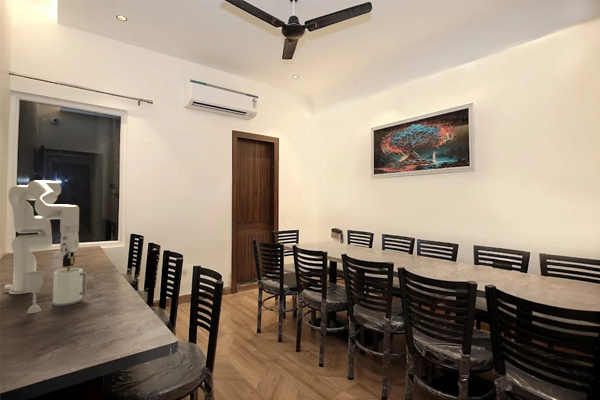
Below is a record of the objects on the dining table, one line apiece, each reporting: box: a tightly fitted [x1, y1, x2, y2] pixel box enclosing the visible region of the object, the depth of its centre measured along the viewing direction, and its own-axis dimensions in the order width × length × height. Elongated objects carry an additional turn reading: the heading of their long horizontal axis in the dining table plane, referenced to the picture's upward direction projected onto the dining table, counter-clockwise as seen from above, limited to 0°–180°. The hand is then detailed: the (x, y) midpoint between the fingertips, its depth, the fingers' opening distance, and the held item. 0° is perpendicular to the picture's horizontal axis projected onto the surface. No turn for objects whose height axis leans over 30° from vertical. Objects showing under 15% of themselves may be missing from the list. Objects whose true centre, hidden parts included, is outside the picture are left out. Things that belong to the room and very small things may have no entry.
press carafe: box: [52, 267, 88, 307], centre depth 152 cm, size 14×12×16 cm
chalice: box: [25, 270, 46, 314], centre depth 139 cm, size 7×7×18 cm
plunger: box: [61, 256, 76, 273], centre depth 152 cm, size 6×6×21 cm
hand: (68, 264), depth 152 cm, fingers closed on plunger, 3 cm apart
